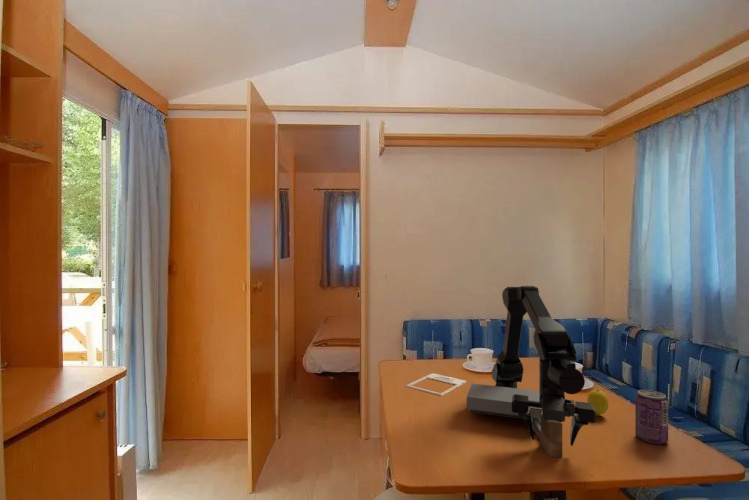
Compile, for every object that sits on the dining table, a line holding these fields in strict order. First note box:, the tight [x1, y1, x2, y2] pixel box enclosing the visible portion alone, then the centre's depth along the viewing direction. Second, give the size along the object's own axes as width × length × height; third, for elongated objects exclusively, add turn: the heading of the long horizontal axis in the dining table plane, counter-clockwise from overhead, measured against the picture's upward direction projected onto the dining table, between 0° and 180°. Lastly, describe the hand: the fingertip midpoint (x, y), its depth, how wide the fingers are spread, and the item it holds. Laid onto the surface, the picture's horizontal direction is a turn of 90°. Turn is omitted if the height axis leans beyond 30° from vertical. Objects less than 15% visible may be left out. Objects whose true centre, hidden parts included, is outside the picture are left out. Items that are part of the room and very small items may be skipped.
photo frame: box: [405, 372, 467, 397], centre depth 149 cm, size 15×1×18 cm
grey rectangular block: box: [466, 383, 542, 420], centre depth 119 cm, size 20×12×8 cm, turn 70°
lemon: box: [586, 388, 609, 417], centre depth 121 cm, size 6×6×8 cm
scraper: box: [532, 413, 563, 458], centre depth 107 cm, size 3×18×8 cm, turn 177°
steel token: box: [534, 418, 541, 427], centre depth 115 cm, size 5×5×2 cm
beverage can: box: [634, 389, 669, 445], centre depth 106 cm, size 7×7×12 cm
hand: (551, 442), depth 100 cm, fingers open, 8 cm apart
